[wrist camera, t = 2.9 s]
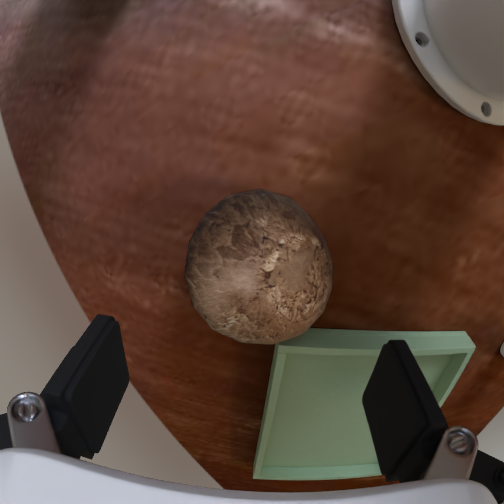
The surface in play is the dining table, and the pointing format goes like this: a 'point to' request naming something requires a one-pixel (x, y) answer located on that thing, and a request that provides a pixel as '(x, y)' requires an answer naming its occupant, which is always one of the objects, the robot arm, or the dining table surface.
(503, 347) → the white open cylindrical frame
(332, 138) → the dining table surface
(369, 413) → the robot arm
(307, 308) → the mushroom
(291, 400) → the tray
